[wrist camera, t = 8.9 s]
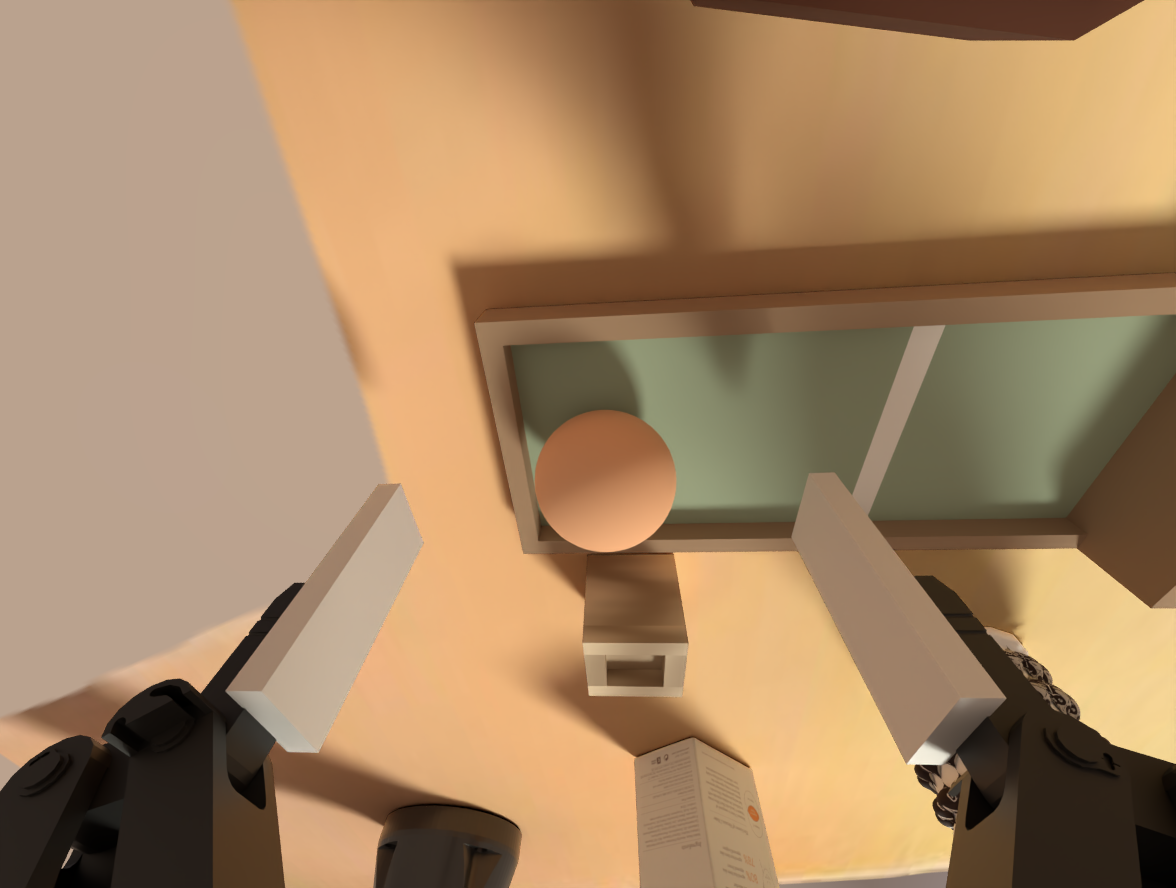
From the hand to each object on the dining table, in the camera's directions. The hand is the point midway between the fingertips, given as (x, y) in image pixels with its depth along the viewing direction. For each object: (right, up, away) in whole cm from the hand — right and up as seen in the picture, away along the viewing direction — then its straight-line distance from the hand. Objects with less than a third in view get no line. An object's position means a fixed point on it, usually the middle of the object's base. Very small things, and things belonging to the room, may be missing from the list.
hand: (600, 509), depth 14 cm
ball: (0, +1, +1) cm, 1 cm away
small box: (+8, -24, +21) cm, 33 cm away
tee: (+2, -5, +9) cm, 10 cm away
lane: (+9, +3, +3) cm, 10 cm away
